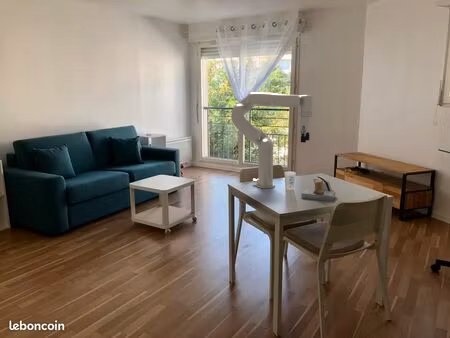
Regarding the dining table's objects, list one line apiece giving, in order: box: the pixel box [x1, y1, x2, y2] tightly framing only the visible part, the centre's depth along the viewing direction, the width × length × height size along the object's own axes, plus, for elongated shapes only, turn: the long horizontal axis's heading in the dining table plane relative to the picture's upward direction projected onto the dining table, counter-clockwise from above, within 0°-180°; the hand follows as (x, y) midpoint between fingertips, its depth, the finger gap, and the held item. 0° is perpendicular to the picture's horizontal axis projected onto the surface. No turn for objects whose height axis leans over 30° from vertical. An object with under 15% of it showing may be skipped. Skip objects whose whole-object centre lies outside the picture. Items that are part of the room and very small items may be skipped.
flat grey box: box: [301, 188, 336, 202], centre depth 223 cm, size 18×10×3 cm, turn 65°
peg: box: [314, 180, 323, 194], centre depth 222 cm, size 4×4×10 cm
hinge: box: [313, 175, 335, 192], centre depth 237 cm, size 17×5×10 cm, turn 13°
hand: (305, 141), depth 241 cm, fingers open, 9 cm apart
